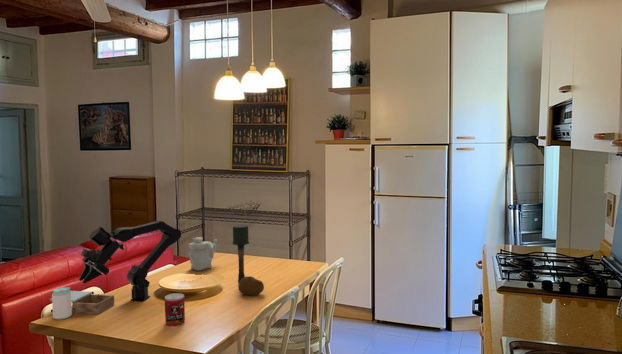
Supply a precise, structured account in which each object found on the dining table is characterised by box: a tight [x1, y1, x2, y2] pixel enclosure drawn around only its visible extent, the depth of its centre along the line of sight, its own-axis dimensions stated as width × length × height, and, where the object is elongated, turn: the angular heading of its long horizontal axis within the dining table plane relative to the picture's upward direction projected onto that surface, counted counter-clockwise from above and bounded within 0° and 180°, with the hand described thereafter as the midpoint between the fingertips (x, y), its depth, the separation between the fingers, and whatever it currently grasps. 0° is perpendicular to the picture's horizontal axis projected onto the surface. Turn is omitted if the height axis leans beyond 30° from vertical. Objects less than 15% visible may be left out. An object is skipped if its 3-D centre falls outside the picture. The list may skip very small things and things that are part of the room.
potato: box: [238, 275, 265, 297], centre depth 227 cm, size 8×12×9 cm
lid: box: [49, 286, 93, 303], centre depth 211 cm, size 12×12×3 cm
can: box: [51, 286, 73, 321], centre depth 200 cm, size 7×7×12 cm
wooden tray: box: [71, 293, 115, 315], centre depth 209 cm, size 12×12×4 cm
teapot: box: [188, 236, 218, 272], centre depth 277 cm, size 16×15×19 cm
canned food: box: [164, 292, 186, 327], centre depth 192 cm, size 8×8×11 cm
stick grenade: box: [231, 224, 250, 284], centre depth 245 cm, size 8×9×30 cm
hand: (81, 281), depth 205 cm, fingers open, 5 cm apart
